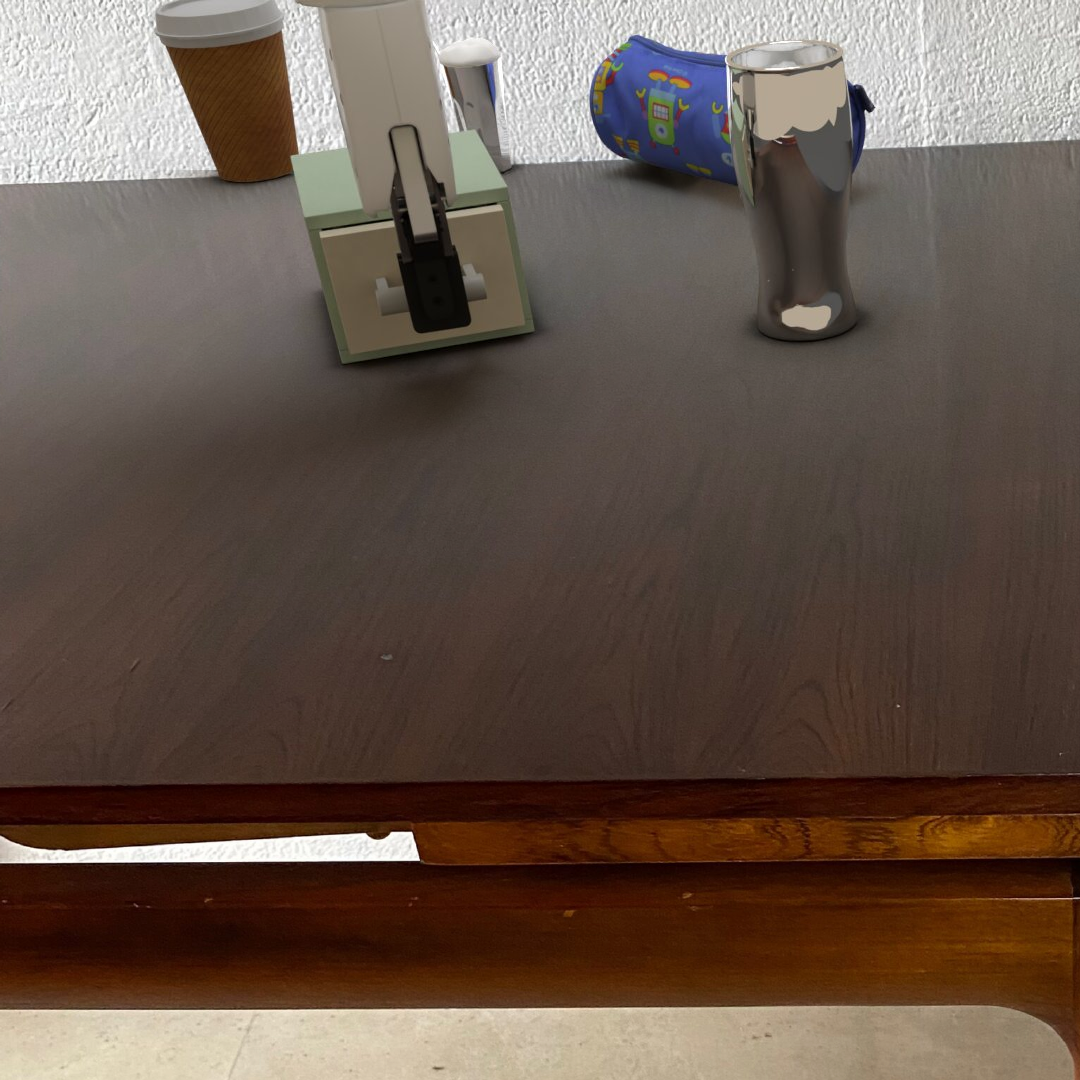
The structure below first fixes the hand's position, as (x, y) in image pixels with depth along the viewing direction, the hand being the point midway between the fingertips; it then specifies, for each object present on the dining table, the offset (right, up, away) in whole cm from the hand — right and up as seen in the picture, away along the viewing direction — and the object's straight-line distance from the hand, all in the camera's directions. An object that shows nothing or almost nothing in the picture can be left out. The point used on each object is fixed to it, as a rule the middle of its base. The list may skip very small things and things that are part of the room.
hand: (442, 324), depth 97 cm
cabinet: (-4, +5, +13) cm, 14 cm away
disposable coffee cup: (-25, +25, +40) cm, 53 cm away
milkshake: (-6, +24, +37) cm, 45 cm away
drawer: (-3, +4, +9) cm, 10 cm away
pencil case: (+13, +20, +31) cm, 39 cm away
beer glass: (+20, +2, +8) cm, 22 cm away
